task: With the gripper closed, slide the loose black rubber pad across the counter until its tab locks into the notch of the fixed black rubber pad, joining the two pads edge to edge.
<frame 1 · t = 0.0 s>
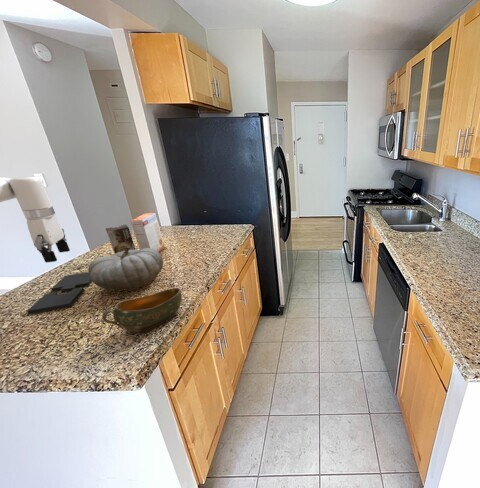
hand: (58, 256, 99), 17 cm above the countertop, tool pointing down, fingers open, 9 cm apart
green gravy boat: (151, 322, 89), on the countertop
base pad: (58, 301, 100), on the countertop
cracker box: (153, 253, 143), on the countertop
gourd: (132, 284, 112), on the countertop
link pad: (77, 282, 114), on the countertop
coffee box: (126, 256, 140), on the countertop
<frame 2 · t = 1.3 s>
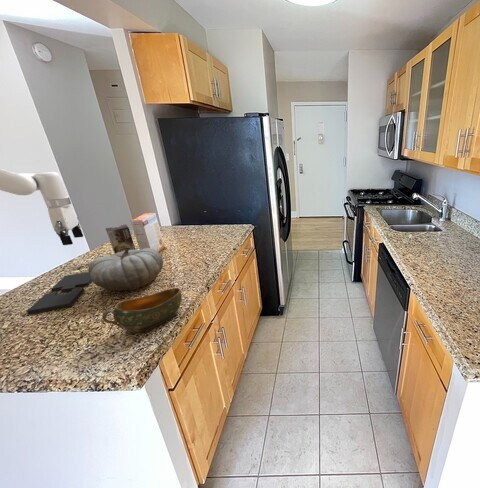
hand: (73, 240, 115), 17 cm above the countertop, tool pointing down, fingers open, 9 cm apart
nothing on the countertop moved.
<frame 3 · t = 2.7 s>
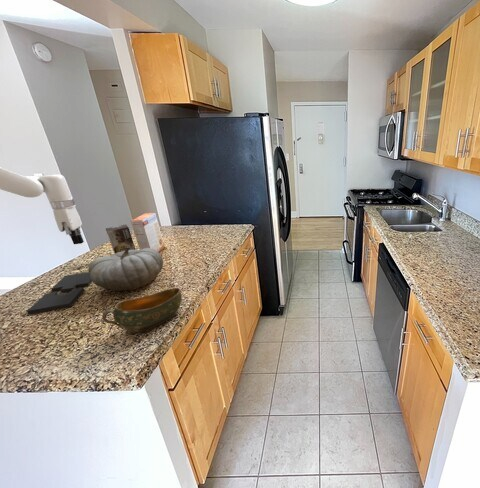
hand: (78, 243, 119), 14 cm above the countertop, tool pointing down, fingers closed
nothing on the countertop moved.
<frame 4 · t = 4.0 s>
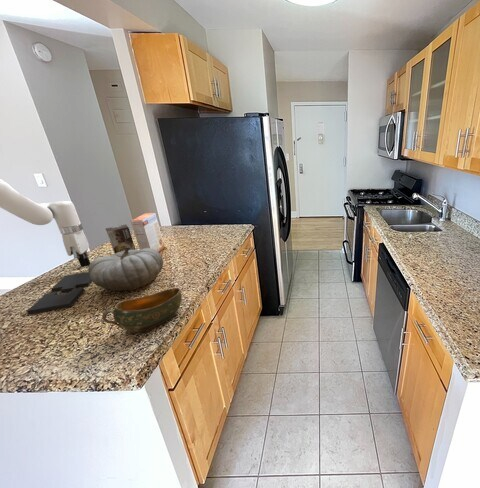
hand: (86, 265, 122), 3 cm above the countertop, tool pointing down, fingers closed
nothing on the countertop moved.
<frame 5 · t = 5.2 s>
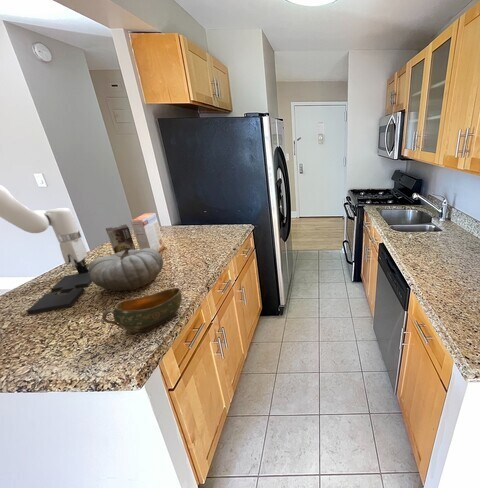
hand: (84, 273, 120), 1 cm above the countertop, tool pointing down, fingers closed
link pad: (77, 282, 114), on the countertop, touching gripper
everything else where it was.
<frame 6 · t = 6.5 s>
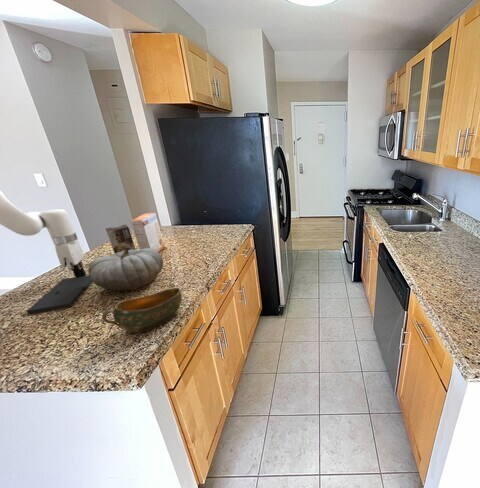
hand: (81, 276, 117), 1 cm above the countertop, tool pointing down, fingers closed
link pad: (74, 286, 111), on the countertop, touching gripper
everything else where it was.
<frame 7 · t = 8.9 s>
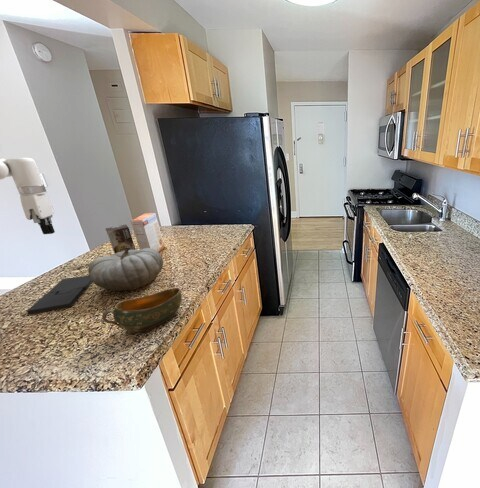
hand: (49, 233, 110), 21 cm above the countertop, tool pointing down, fingers closed
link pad: (74, 286, 111), on the countertop
everything else where it was.
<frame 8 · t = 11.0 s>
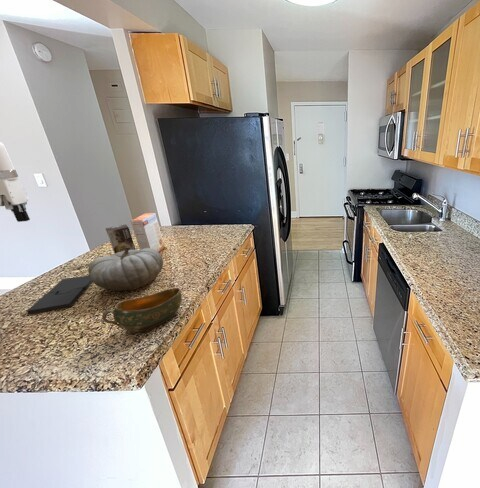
hand: (23, 220, 107), 27 cm above the countertop, tool pointing down, fingers closed
nothing on the countertop moved.
at the end: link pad 0.4 cm from the target spot on the countertop beside the base pad, on the countertop; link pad tilted 0° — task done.
